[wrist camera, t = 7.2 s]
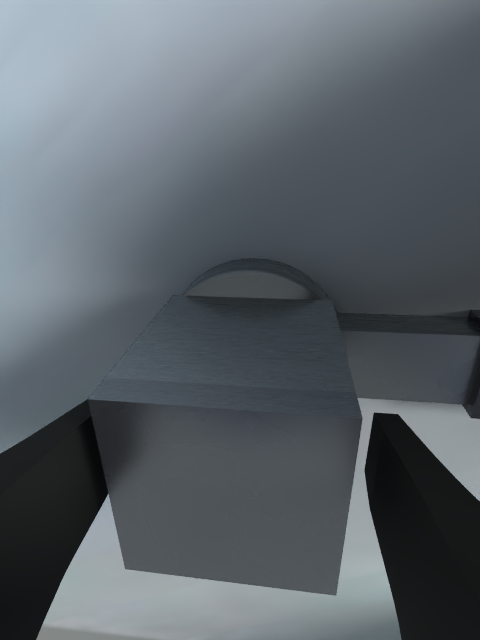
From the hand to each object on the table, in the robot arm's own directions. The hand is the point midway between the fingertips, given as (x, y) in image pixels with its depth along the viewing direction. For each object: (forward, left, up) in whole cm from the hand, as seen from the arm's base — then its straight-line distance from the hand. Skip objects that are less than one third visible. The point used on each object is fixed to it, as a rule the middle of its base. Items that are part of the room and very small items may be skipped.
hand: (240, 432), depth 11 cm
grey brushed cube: (0, 0, -4) cm, 4 cm away
